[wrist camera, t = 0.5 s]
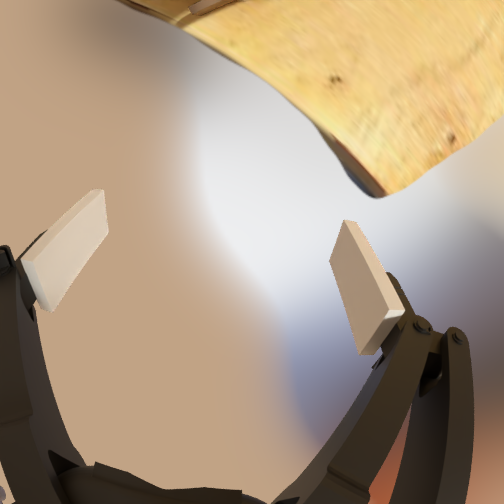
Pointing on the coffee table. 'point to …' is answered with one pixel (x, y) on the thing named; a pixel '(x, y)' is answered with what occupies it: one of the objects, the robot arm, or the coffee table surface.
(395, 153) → the coffee table surface
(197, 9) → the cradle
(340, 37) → the coffee table surface
